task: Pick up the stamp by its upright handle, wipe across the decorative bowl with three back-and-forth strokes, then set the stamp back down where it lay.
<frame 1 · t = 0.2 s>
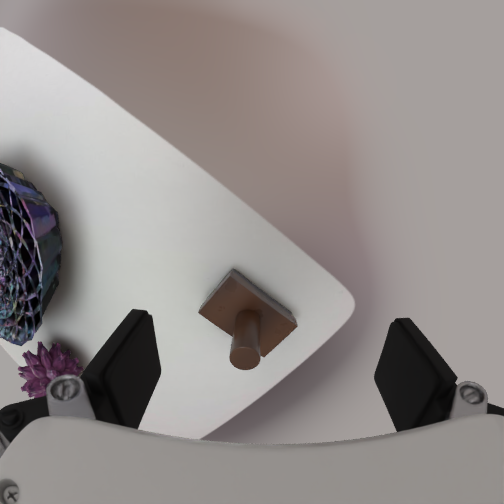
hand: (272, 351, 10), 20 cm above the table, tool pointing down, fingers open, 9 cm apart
flower: (69, 358, 36), on the table
decorative bowl: (16, 238, 31), on the table
stamp: (249, 306, 32), on the table
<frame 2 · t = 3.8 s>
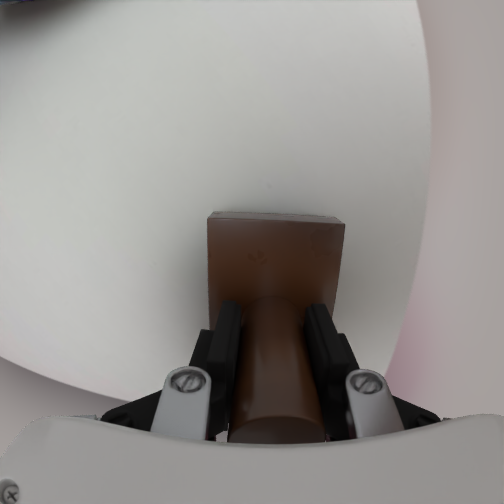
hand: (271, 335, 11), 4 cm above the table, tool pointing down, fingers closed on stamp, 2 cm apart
stamp: (269, 292, 15), on the table, touching gripper
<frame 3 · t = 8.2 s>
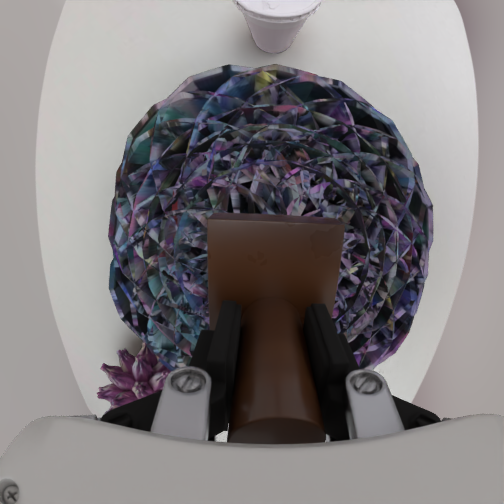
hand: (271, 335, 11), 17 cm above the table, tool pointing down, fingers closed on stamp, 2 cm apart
smoothie: (272, 38, 21), on the table
flower: (162, 362, 33), on the table
decorative bowl: (267, 235, 27), on the table
stamp: (269, 293, 15), point 13 cm above the table, touching gripper
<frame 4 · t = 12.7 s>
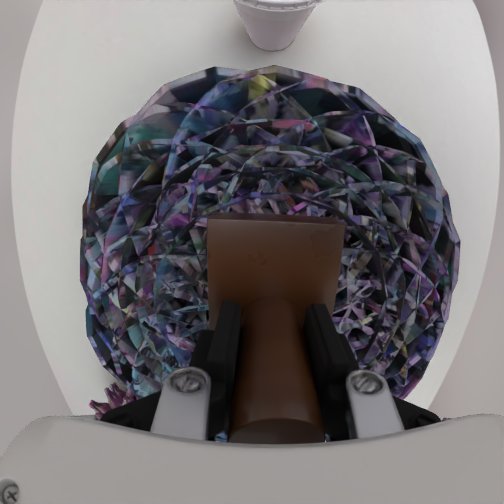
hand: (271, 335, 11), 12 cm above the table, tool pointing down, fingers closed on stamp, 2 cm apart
smoothie: (271, 34, 18), on the table
flower: (154, 395, 29), on the table
decorative bowl: (266, 268, 24), on the table, touching stamp
stamp: (269, 292, 15), point 8 cm above the table, touching decorative bowl, gripper
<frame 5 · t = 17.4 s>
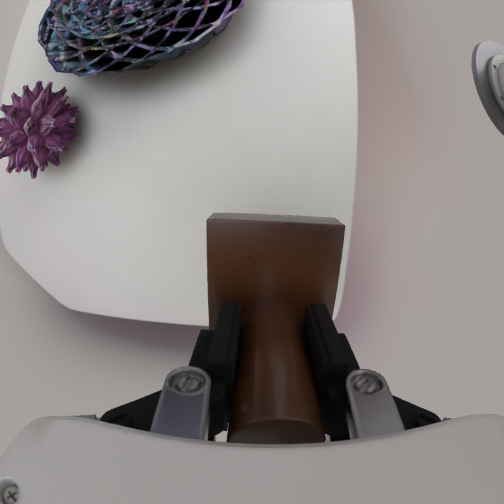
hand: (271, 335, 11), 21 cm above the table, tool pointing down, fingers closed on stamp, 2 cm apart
flower: (62, 131, 28), on the table
decorative bowl: (155, 3, 23), on the table
stamp: (269, 293, 15), point 17 cm above the table, touching gripper
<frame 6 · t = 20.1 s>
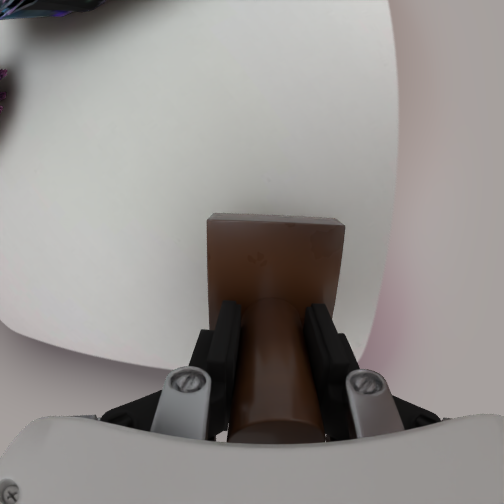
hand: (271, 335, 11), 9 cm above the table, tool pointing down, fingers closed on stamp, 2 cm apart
stamp: (269, 293, 15), point 5 cm above the table, touching gripper
when the fingers open (4 cm above the table, at t = 21.5 s): stamp stays where it is, on the table.
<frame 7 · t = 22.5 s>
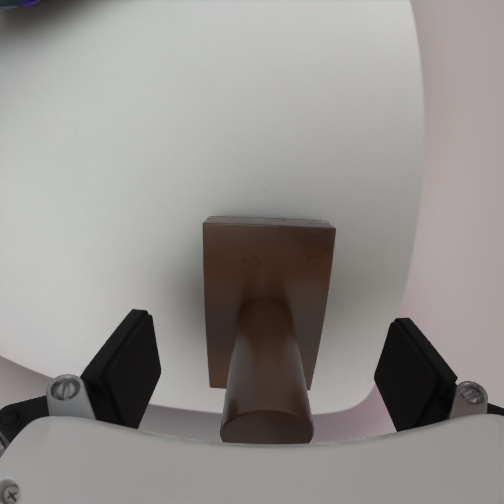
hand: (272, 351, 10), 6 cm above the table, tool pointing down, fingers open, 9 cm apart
stamp: (264, 293, 16), on the table
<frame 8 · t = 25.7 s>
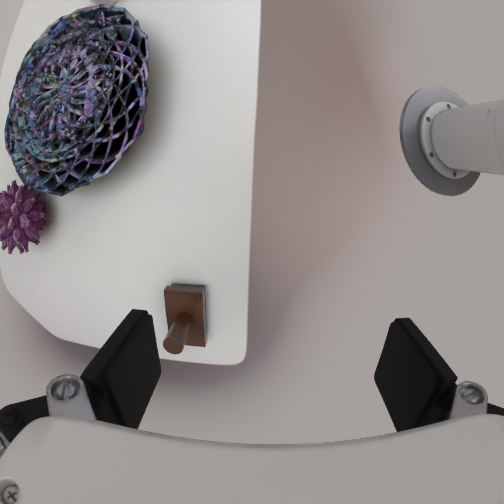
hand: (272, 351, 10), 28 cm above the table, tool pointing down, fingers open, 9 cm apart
flower: (39, 210, 38), on the table
decorative bowl: (92, 101, 33), on the table
stamp: (189, 309, 42), on the table
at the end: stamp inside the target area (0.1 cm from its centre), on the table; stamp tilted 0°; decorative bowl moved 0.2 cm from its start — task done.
